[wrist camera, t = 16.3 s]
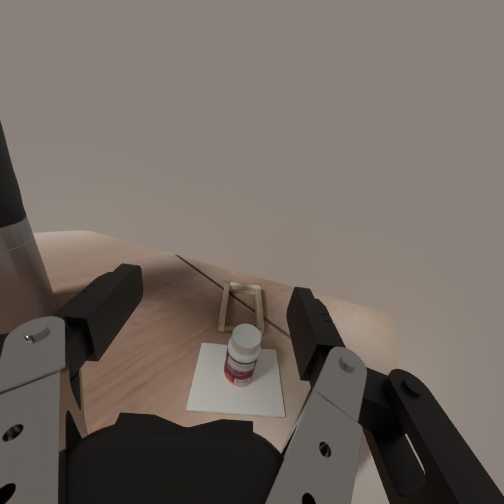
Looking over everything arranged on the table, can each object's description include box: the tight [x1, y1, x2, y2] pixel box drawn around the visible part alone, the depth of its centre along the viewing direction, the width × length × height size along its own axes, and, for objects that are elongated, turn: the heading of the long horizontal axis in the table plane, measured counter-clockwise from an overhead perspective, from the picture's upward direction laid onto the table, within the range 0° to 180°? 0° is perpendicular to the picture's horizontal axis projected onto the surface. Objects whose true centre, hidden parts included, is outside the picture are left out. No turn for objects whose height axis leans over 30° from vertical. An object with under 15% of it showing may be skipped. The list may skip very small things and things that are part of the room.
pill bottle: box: [224, 324, 261, 388], centre depth 29 cm, size 5×5×8 cm
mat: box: [186, 343, 285, 418], centre depth 31 cm, size 13×10×1 cm
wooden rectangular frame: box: [217, 281, 264, 336], centre depth 43 cm, size 9×13×2 cm, turn 1°
